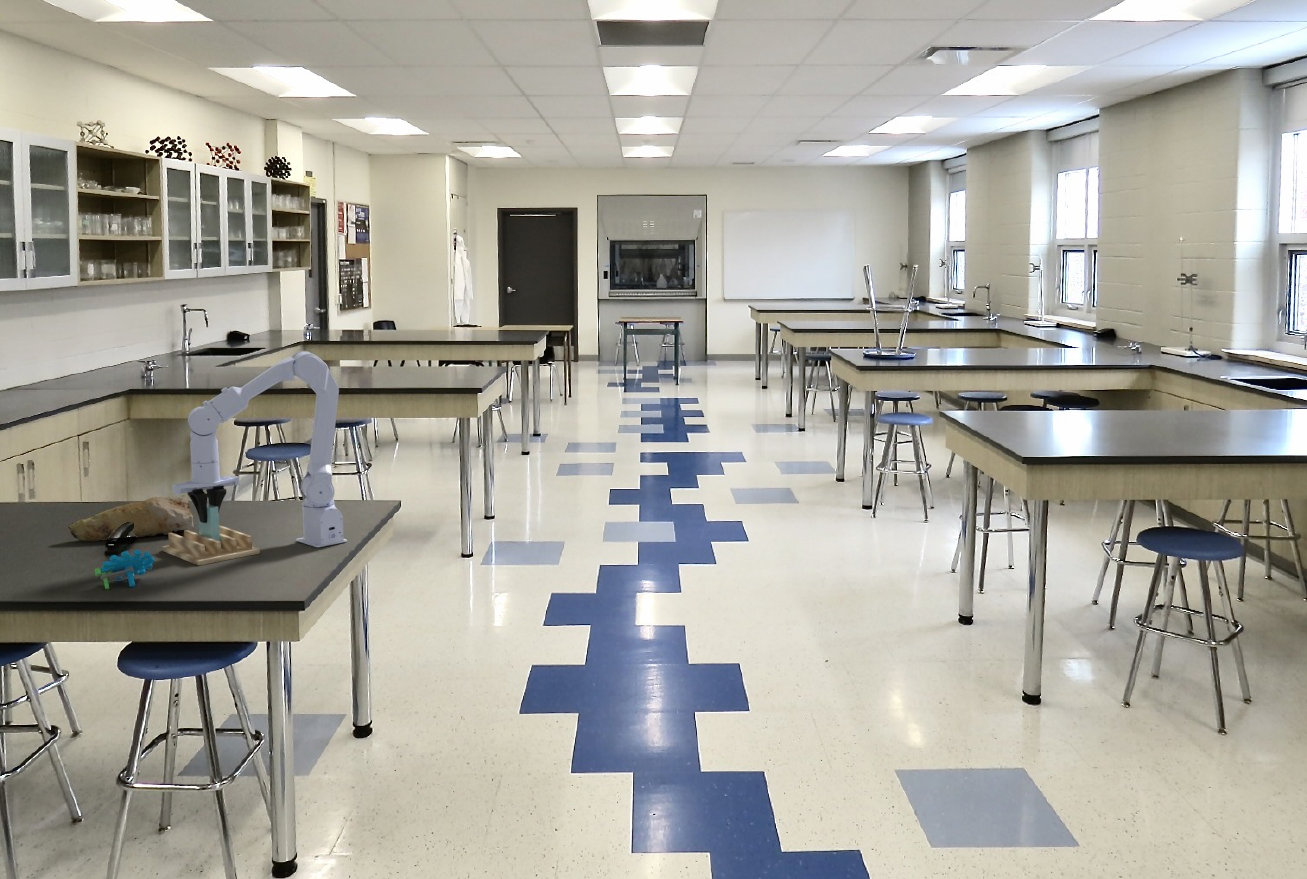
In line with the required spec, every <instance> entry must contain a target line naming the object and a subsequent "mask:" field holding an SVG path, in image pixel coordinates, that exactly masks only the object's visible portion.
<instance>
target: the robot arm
mask: <svg viewBox="0 0 1307 879" xmlns="http://www.w3.org/2000/svg"><path fill="white" fill-rule="evenodd" d="M295 377H297V378H298V379H300V380H301V381H303V382H304V383H306V384H307V386H309V388H311V389H312V391H314V393H315V395H316V397H315V406H314V415H313V424H312V434H311V443H310V454H309V461H308V463H307V467H306V473H305V476H303V478H302V480H301V483H300V489H301V491H302V493H303V495H304V496H305V498H304V499H303V501H302V502H301V505H302V506H301V509H302V510H301V512H302V530H303V531H302V532H303V537H300V538H296V539H295V541H296V542H299V543H302V544H305V545H308V546H311V547H314V548H323V547H327V546H332V545H337V544H342V543H347V542H348V539H346V538H344V516H343V514H342V512H341V511H340V510H339V509H338V508H337V507H336V505H335V500H334V497H335V487H334V484H333V480H332V479H333V471H332V460H333V459H332V457H333V450H334V439H335V431H336V422H337V413H338V411H337V410H338V403H339V393H340V388H339V386H338V384H337V382H336V380H335V378H334V376H333V374H332V372H331V371H330V368H329V366H328V364H326V362H324V360H322V359H321V358H320V357H319V356H318V355H316V354H314V353H312V352H310V351H307V350H300V351H297V352H296V353H294V354H293V355H292V356H287V357H286V358H284V359H282V360H280V361H278V362H277V363H275V364H273V365H272V366H270V367H269V368H267V369H266V370H265V371H263V372H262V373H260V374H258V375H257V376H256V377H255V378H253V379H252V380H249V382H247V383H246V384H244V385H243V386H241V387H238V386H230V387H229V388H227V387H223V388H221V389H220V391H221V393H219V394H218V395H216V396H214V397H213V398H212V399H210V400H208V401H207V400H204V401H203V402H202V405H203V406H197V407H195V408H193V409H192V410H191V411H190V412H189V415H188V418H187V424H188V427H189V428H190V429H191V430H190V433H189V437H190V442H189V448H190V462H191V464H190V465H191V478H192V480H189V481H185V482H180V483H176V484H172V487H171V488H172V494H174V495H181V494H185V493H187V496H188V497H189V499H190V500H191V502H192V504H193V506H194V507H195V510H196V512H197V515H198V520H199V519H200V522H202V523H207V503H208V504H211V505H214V506H217V507H218V513H220V509H221V506H222V504H223V501H224V499H225V497H226V494H227V492H228V491H227V489H226V487H232V486H237V487H238V486H240V485H241V484H240V483H241V482H240V481H241V480H240V476H236V475H232V476H221V473H220V472H221V471H220V454H219V441H218V439H217V430H218V427H219V424H224V423H226V422H228V421H229V420H231V419H232V418H234V417H235V416H237V415H239V414H240V413H241V412H243V411H245V410H247V409H248V406H249V402H250V400H252V399H253V398H254V397H257V396H258V395H259V394H261V393H263V392H265V391H266V390H268V389H269V388H271V387H273V386H275V385H276V384H279V383H280V382H290V381H291V382H292V381H293V382H295V381H296V378H295ZM205 491H206V492H205Z"/></svg>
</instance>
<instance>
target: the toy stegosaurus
mask: <svg viewBox="0 0 1307 879" xmlns="http://www.w3.org/2000/svg"><path fill="white" fill-rule="evenodd" d="M120 554H121V556H118V555H116V554H113V555H111V556H110V557H109V561H106V560H105V561H103V562H102V567H101V568H100V567H97V568H95V569H94V575H95V577H100V580H101V581H102V582H103V585H104V589H105V590H106V589H107V590H110V584H109V581H110V580H115V581H121V580H123V577H127V581H128V584H129V585H128V586H129V588H135V587H136V583H135V574H137V575H139V576H144V575H145V574H146V573H147V572H146V570H152V569H153V564H154V563H155V562H156V561H155V557H154V556H152V554H151V552H149V551H144V553H143V556H141V555H142V551H141V550H140V549H136V550H134V551H133V554H134V555H131V554H130V553H129V551H128V550H125V551H123V552H121V553H120Z"/></svg>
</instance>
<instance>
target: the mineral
mask: <svg viewBox="0 0 1307 879" xmlns="http://www.w3.org/2000/svg"><path fill="white" fill-rule="evenodd" d="M191 510H192V509H191V507H190V503H189V500H188V497H187V496H186V495H185V494H182V495H179V496H172V497H170V496H166V497H161V496H159V497H157V496H154V497H150V498H148V499H145V500H141V501H136V502H130V503H127V504H124V505H118V506H114V507H112V508H110V509H107V510H104V511H101V512H100V513H97V514H95V515H93V516H91V517H87V518H85V519H82V518H81V519H78V520H77V521H76V522H72V523H71V524H69V525H68V526H67V527H68V529H69V531H70V534H71V536H73V538H74V539H77V540H79V541H87V542H100V541H99V540H102V541H107V539H108V537H109V536H110V535H111V534H112V533H114V532H115V530H116V529H117V528H118V527H120V526H121V525H122V524H124V523H126V522H134V531H133V533H134V534H135V535H136V536H138V537H137V538H142V537H143V538H144V537H147V536H149V537H156V535H161V534H163V535H168V533H173V531H174V532H176V533H177V532H178V531H184V530H189V529H190V528H191V529H195V525H194V517H193V513H192V511H191ZM108 540H109V539H108Z"/></svg>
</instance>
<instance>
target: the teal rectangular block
mask: <svg viewBox="0 0 1307 879" xmlns="http://www.w3.org/2000/svg"><path fill="white" fill-rule="evenodd" d="M219 513H220V512H219ZM219 513H218V507H217V506H214V505H211V504H209V502H207V523H202V522H200V519H199V518H198V526H199V527H198V530H199V531H198V532H199V533H198V534H200V535H203V536H206V537H208V538H211V539H214V540H217V541H219V542H220V531H219V525H220V517H219V516H220V514H219Z"/></svg>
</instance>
